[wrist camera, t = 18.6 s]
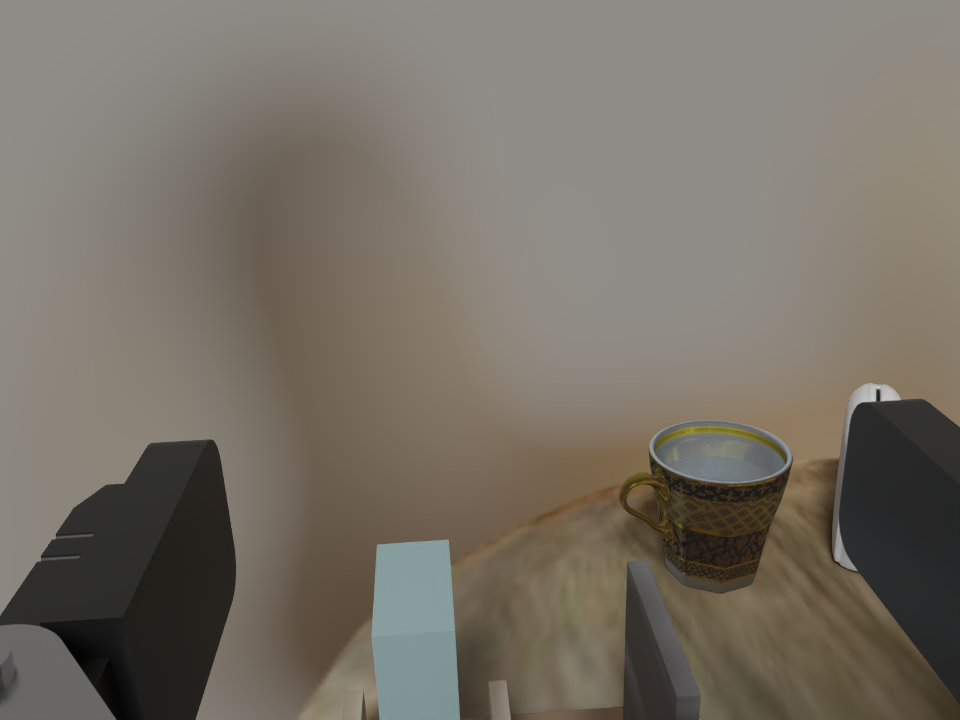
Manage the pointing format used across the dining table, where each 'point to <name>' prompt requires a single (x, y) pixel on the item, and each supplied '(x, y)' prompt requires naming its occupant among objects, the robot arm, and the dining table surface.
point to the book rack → (647, 676)
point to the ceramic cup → (714, 499)
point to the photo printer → (860, 395)
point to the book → (415, 632)
